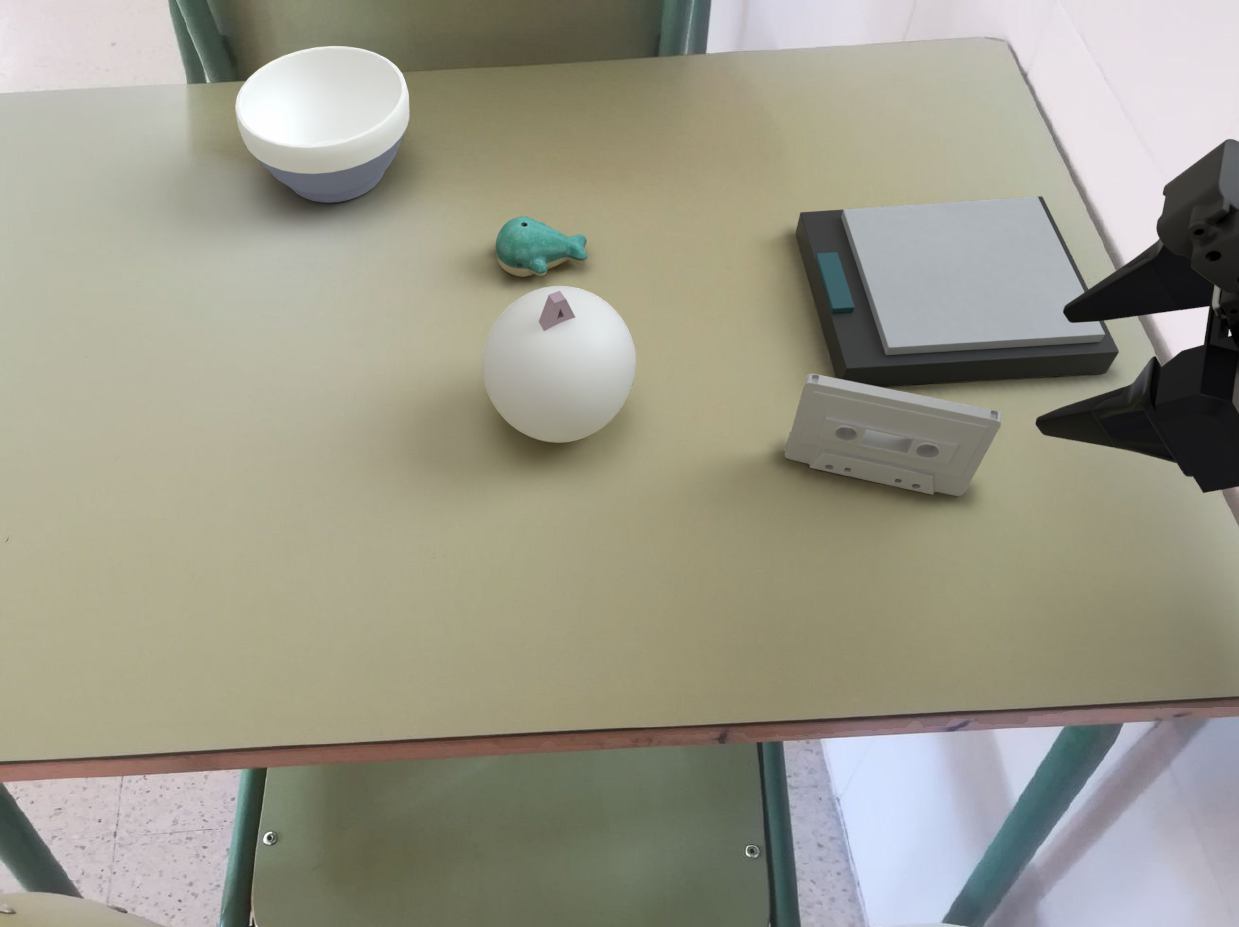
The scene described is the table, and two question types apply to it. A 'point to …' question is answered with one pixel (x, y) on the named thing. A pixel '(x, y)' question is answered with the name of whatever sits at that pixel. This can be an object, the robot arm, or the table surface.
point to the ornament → (559, 363)
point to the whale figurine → (535, 247)
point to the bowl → (325, 120)
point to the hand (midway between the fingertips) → (1053, 368)
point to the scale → (948, 293)
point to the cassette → (890, 435)
